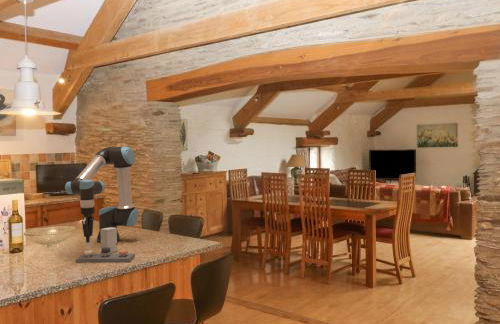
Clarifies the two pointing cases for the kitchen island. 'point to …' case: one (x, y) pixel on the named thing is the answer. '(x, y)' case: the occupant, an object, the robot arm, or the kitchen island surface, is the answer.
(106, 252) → the button black
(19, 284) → the kitchen island surface
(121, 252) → the button terracotta
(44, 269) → the kitchen island surface
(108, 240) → the skincare box
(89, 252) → the button cream
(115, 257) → the button board
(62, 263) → the kitchen island surface
